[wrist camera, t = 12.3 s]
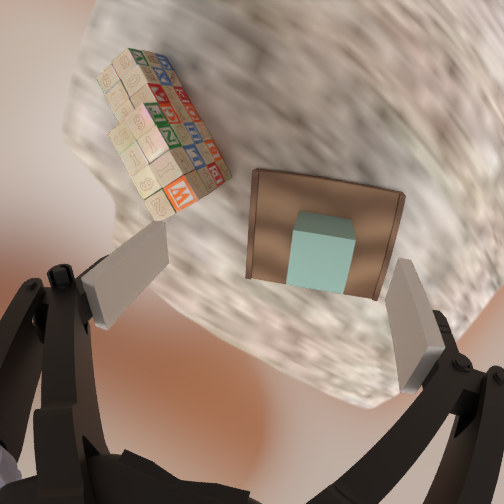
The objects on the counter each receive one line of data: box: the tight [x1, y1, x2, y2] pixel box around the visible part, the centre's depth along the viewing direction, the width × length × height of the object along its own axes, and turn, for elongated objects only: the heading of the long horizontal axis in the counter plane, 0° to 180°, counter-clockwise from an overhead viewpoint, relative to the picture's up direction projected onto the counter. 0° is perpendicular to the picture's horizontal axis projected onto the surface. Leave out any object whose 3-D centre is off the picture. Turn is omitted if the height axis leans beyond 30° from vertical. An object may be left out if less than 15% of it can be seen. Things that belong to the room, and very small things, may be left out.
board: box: [245, 169, 406, 301], centre depth 40 cm, size 16×20×2 cm
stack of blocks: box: [97, 48, 232, 221], centre depth 33 cm, size 21×6×12 cm, turn 28°
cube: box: [286, 211, 356, 294], centre depth 36 cm, size 7×7×7 cm
